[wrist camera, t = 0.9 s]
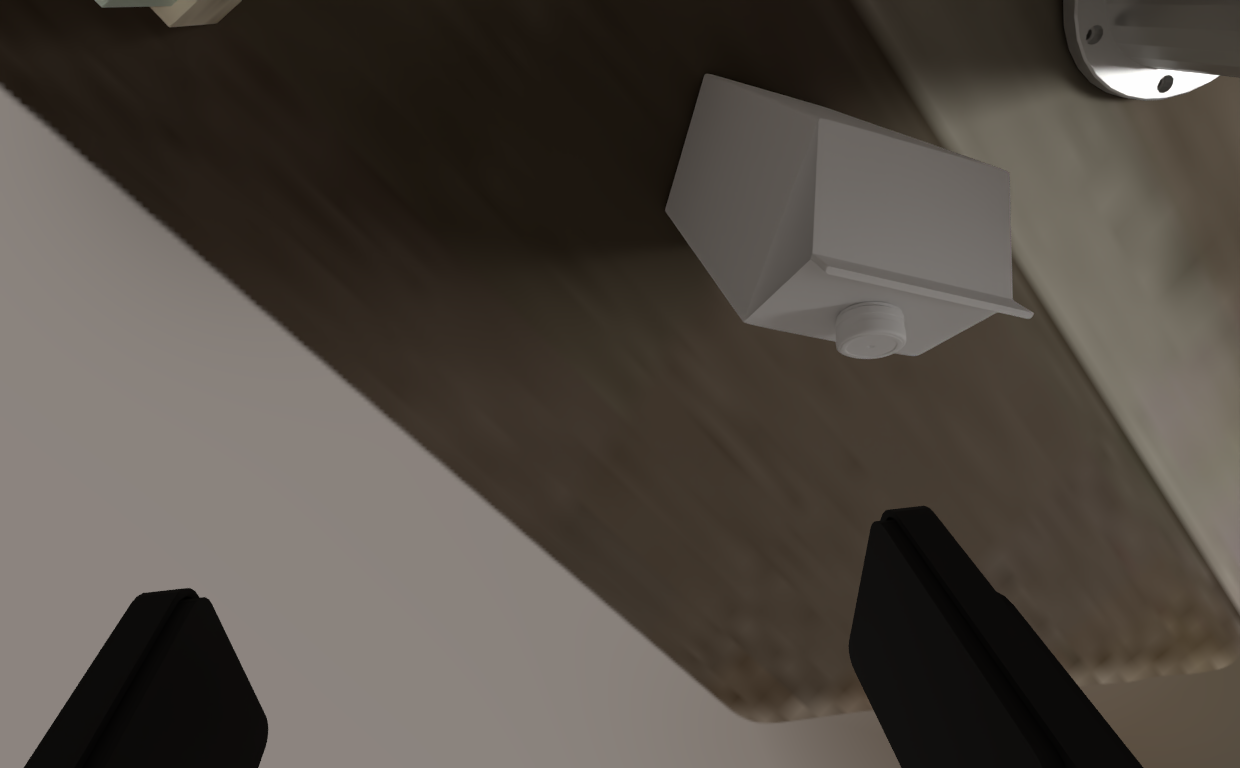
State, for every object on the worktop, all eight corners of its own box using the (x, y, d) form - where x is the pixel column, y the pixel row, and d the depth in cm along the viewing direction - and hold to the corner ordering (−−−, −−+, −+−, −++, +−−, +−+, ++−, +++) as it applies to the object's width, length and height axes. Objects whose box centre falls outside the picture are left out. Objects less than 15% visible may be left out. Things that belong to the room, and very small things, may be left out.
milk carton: (703, 71, 34) (879, 139, 17) (830, 108, 35) (1100, 201, 19) (663, 210, 37) (779, 379, 21) (781, 238, 39) (976, 414, 22)
